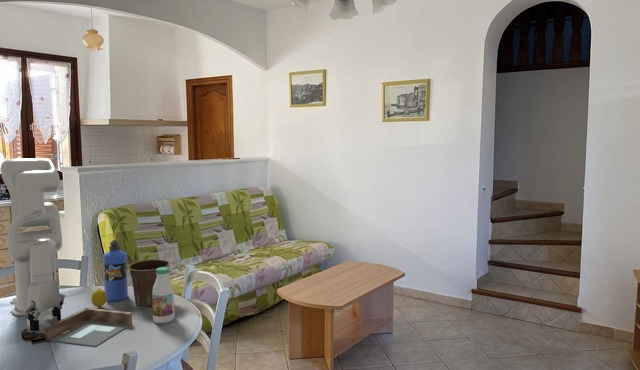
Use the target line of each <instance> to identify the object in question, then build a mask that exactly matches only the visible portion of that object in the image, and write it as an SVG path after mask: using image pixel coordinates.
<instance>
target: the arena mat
mask: <svg viewBox="0 0 640 370" xmlns="http://www.w3.org/2000/svg"><path fill="white" fill-rule="evenodd" d="M130 326H131V325H127V324H118V323H109V322H100V321H91V320H86V321H85V322H83V323H81V324H79V325H77V326H75V327H73V328H71V329H69V332H68V333H66V334H64V335H58V336H56V337H54V338H52V339H50V340H49V341H48V342H53V343H59V344H60V343H62V344H70V345H76V346H77V345H78V346H84V347H93V348H97V347H99V346H100V345H101V344H103V343H104V342H106V341H108V340H109V339H111V338H113V337H114V336H116V335H117V334H118V333H121V332H123V331H124V330H126V329H127V328H129V327H130Z"/></svg>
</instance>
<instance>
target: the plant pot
mask: <svg viewBox="0 0 640 370" xmlns="http://www.w3.org/2000/svg"><path fill="white" fill-rule="evenodd" d="M170 265H171V263H170V262H169V261H168V260H164V259H144V260H138V261H137V262H132V263H130V264H129V265H128V270H129V273H130V274H129V275H130V277H131V280H132V281H131V282H132V288H133V295H134V304H135V305H136V306H138V307H141V308H142V307H145V308H148V307H149V306H150V307H153V302H152V292H153V286H154V284H155V282H156V279H157V275H156V269H157V268H160V267H167V268H169V269H170Z"/></svg>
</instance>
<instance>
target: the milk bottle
mask: <svg viewBox="0 0 640 370" xmlns="http://www.w3.org/2000/svg"><path fill="white" fill-rule="evenodd" d="M169 274H170V267H169V268H167V267H160V268H157V269H156V275H157V279H156V282H155V284H154V286H153V292H152V302H153V306H152V320H153V321H152V322H154V323H155V324H168V323H170V322H173V321H174V320H175V293H174V285H173V283H172V281H171V280H170V276H169Z"/></svg>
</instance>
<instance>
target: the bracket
mask: <svg viewBox="0 0 640 370" xmlns="http://www.w3.org/2000/svg"><path fill="white" fill-rule="evenodd" d="M52 310H53V308H52V309H49V310H47V311H44V312H42V313H40V314H39V316H38V318H37V320H39V331H38V333H37V334H40V333H45V328H46V327H48V326H50V325H52V324H54V323H56V322H58V321H57V316H52ZM35 314H36V313H34V315H33V316H35ZM26 332H27V333H32V332H36V331H30V320H28V319H27V318H26Z"/></svg>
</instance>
